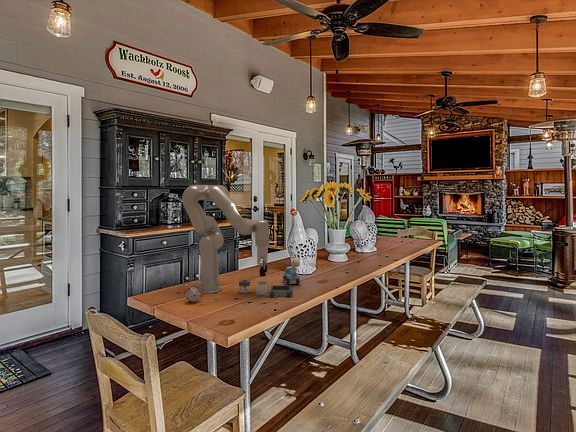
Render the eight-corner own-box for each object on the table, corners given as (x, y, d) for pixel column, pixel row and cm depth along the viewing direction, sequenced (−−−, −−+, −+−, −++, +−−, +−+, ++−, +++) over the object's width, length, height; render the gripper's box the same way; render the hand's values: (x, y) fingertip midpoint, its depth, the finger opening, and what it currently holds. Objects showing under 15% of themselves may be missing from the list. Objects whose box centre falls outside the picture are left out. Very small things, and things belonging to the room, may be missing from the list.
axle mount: (239, 293, 205) (239, 286, 204) (241, 291, 210) (241, 284, 209) (248, 293, 205) (248, 286, 204) (249, 291, 210) (249, 284, 209)
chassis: (268, 297, 198) (267, 291, 198) (269, 290, 211) (269, 284, 211) (292, 297, 198) (292, 291, 198) (292, 290, 211) (292, 284, 211)
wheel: (238, 286, 204) (238, 282, 204) (240, 283, 210) (240, 279, 209) (249, 286, 204) (249, 282, 204) (250, 283, 209) (250, 279, 209)
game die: (191, 308, 193) (187, 290, 198) (206, 302, 193) (202, 284, 197) (183, 304, 185) (179, 286, 190) (198, 299, 185) (195, 280, 189)
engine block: (256, 295, 203) (256, 283, 202) (257, 292, 208) (257, 281, 207) (267, 295, 202) (267, 283, 202) (268, 292, 207) (268, 281, 207)
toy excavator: (289, 289, 213) (289, 259, 212) (281, 281, 229) (281, 254, 228) (303, 288, 216) (303, 258, 214) (295, 280, 232) (295, 253, 230)
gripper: (257, 240, 211) (258, 270, 212) (253, 245, 194) (254, 278, 195) (270, 240, 211) (271, 270, 212) (268, 245, 194) (269, 277, 195)
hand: (263, 274), depth 204 cm, fingers open, 9 cm apart
